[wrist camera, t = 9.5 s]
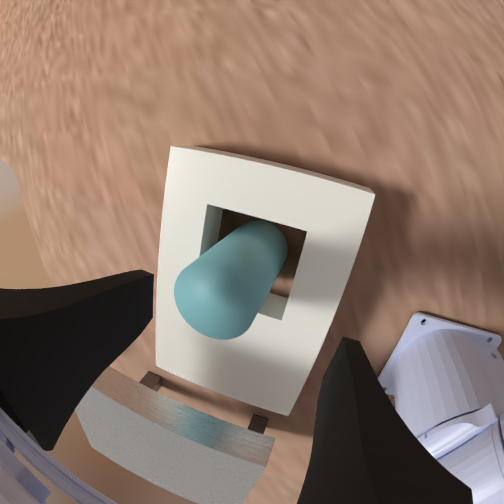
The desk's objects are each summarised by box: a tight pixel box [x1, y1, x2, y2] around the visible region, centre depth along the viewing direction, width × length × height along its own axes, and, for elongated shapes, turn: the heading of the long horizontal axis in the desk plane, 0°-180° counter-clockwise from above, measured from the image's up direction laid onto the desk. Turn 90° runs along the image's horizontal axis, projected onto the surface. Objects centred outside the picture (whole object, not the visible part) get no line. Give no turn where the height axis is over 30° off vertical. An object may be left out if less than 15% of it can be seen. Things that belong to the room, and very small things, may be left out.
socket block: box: [156, 146, 375, 416], centre depth 20 cm, size 12×18×3 cm, turn 168°
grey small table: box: [75, 366, 275, 504], centre depth 21 cm, size 14×12×11 cm
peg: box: [174, 220, 288, 340], centre depth 17 cm, size 4×4×8 cm
